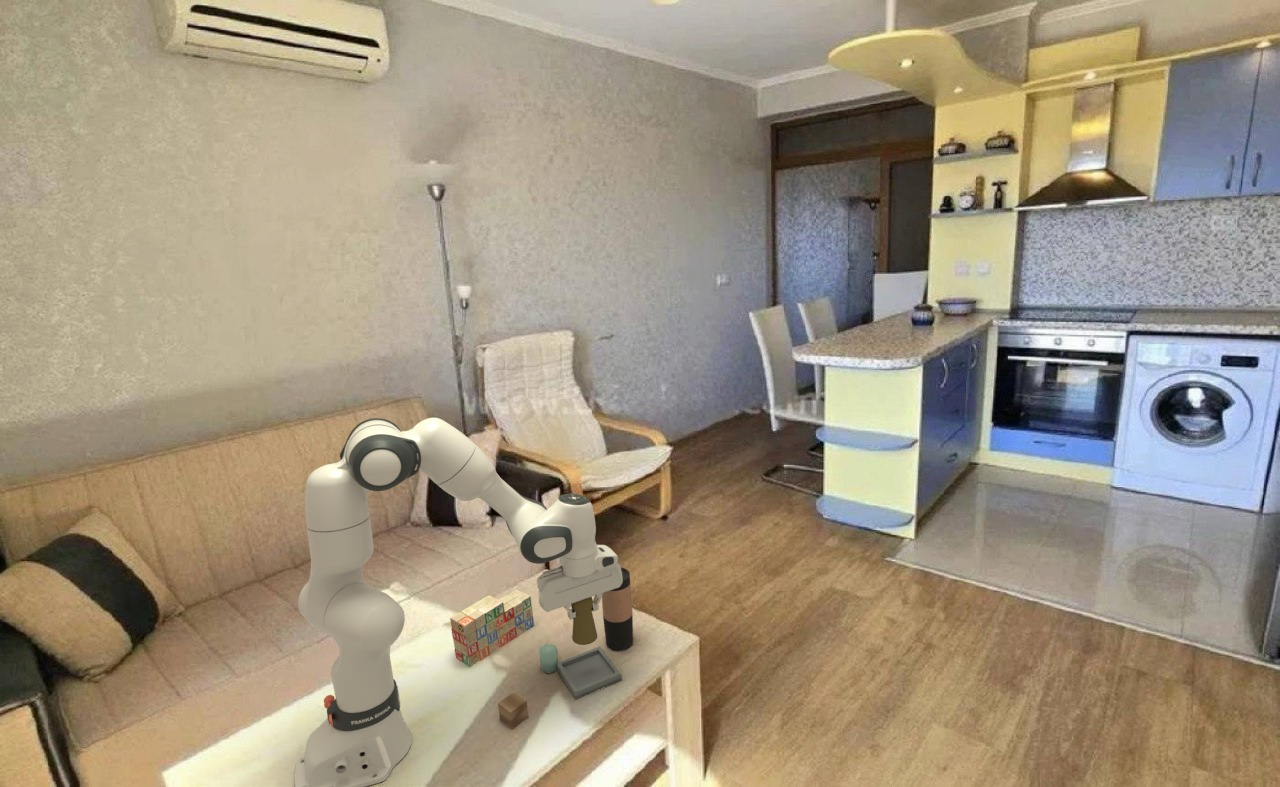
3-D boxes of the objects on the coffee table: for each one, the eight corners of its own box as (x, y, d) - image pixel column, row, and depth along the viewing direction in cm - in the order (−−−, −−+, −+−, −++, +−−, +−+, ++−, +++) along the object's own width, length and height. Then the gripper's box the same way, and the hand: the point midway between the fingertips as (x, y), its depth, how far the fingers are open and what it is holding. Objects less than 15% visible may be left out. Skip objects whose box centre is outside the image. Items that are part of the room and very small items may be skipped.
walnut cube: (512, 729, 135) (510, 712, 134) (500, 720, 138) (497, 703, 137) (528, 717, 139) (526, 700, 137) (516, 708, 142) (514, 691, 140)
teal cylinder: (545, 675, 152) (543, 657, 150) (538, 665, 155) (536, 648, 154) (561, 668, 154) (560, 650, 153) (554, 658, 158) (552, 641, 156)
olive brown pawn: (593, 646, 145) (589, 604, 142) (568, 643, 146) (564, 602, 143) (600, 630, 150) (597, 590, 148) (577, 627, 152) (573, 588, 149)
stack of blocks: (519, 618, 176) (515, 579, 172) (534, 625, 172) (530, 586, 169) (455, 658, 160) (449, 616, 157) (470, 668, 156) (464, 625, 153)
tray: (575, 699, 143) (574, 692, 143) (556, 669, 153) (556, 662, 153) (621, 680, 148) (621, 673, 148) (600, 652, 159) (600, 646, 158)
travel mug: (599, 642, 163) (593, 574, 158) (621, 629, 168) (617, 563, 163) (617, 656, 157) (612, 586, 152) (640, 642, 162) (636, 574, 157)
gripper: (541, 580, 136) (546, 635, 139) (623, 554, 145) (627, 606, 149) (531, 568, 141) (537, 621, 145) (612, 543, 151) (615, 594, 154)
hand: (583, 613), depth 147 cm, fingers closed on olive brown pawn, 4 cm apart
